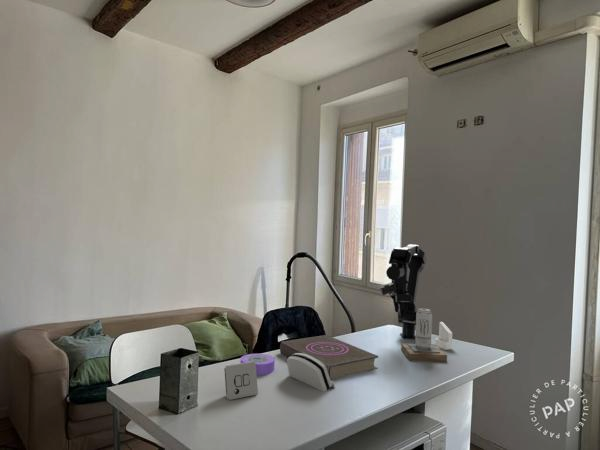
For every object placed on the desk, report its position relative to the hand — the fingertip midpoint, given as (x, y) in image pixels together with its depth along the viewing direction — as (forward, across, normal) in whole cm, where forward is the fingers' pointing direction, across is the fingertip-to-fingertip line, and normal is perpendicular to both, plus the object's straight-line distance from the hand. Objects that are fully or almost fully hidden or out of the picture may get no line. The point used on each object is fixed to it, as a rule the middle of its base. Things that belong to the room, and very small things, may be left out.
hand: (398, 314), depth 181 cm
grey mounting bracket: (+14, +45, -39) cm, 61 cm away
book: (+14, +23, -32) cm, 42 cm away
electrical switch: (+13, +57, -59) cm, 83 cm away
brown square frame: (+13, +13, +7) cm, 20 cm away
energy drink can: (+10, +13, +7) cm, 18 cm away
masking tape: (+14, +35, -56) cm, 67 cm away
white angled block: (+13, +1, +19) cm, 23 cm away
